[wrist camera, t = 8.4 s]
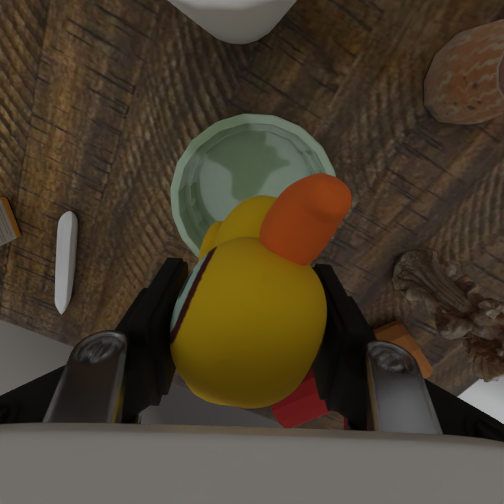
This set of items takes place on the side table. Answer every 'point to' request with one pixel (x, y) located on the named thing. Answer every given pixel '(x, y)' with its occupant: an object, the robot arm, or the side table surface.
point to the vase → (468, 77)
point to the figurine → (455, 308)
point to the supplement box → (7, 223)
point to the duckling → (258, 296)
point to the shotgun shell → (306, 395)
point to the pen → (65, 259)
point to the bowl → (239, 169)
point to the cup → (235, 17)
